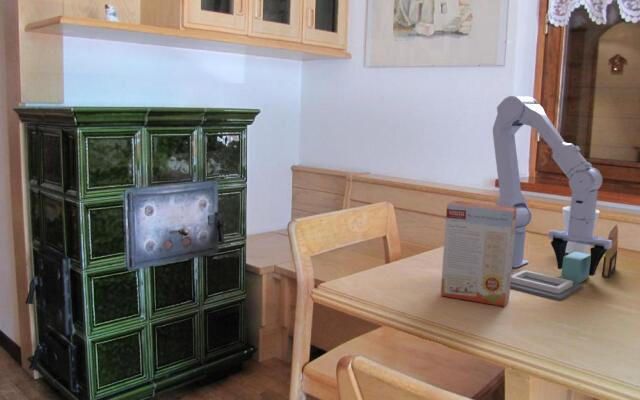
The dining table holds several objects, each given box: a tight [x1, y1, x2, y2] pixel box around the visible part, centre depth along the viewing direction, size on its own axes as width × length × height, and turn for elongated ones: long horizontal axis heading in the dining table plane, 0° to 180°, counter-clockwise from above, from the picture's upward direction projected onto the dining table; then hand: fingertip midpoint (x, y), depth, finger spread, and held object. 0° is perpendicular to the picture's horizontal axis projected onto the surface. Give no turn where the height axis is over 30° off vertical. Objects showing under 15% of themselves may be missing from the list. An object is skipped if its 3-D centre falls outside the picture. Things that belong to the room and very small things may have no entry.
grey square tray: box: [510, 269, 584, 302], centre depth 147 cm, size 15×14×2 cm
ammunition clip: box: [601, 224, 619, 279], centre depth 160 cm, size 11×2×12 cm, turn 148°
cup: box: [561, 205, 600, 255], centre depth 178 cm, size 10×10×13 cm
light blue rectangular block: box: [560, 252, 591, 284], centre depth 153 cm, size 4×8×6 cm, turn 138°
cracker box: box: [440, 200, 517, 307], centre depth 134 cm, size 14×6×21 cm, turn 64°
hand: (575, 271), depth 154 cm, fingers open, 7 cm apart
